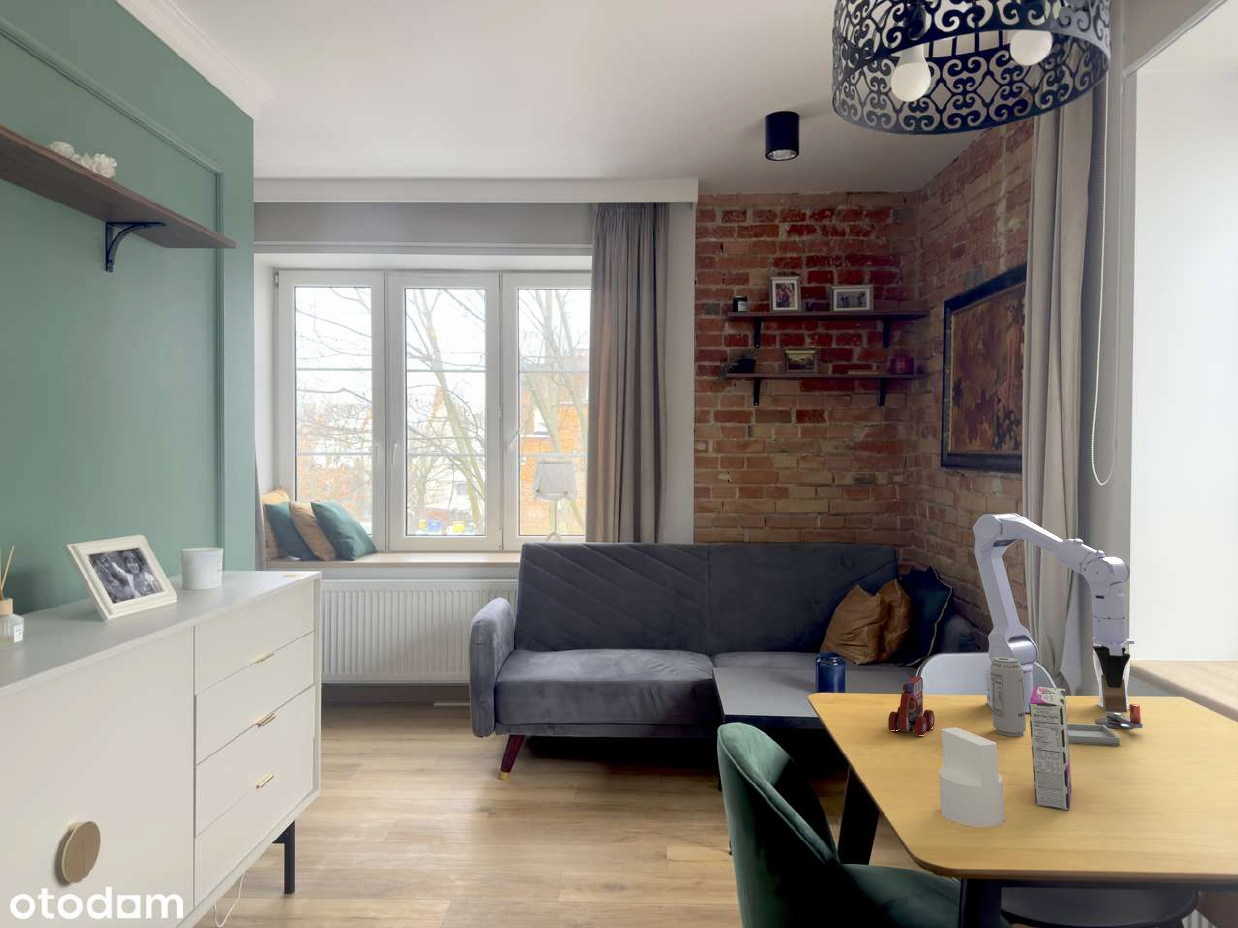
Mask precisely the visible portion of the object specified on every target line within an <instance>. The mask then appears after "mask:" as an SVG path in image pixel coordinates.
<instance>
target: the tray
mask: <svg viewBox="0 0 1238 928" xmlns="http://www.w3.org/2000/svg"><path fill="white" fill-rule="evenodd" d="M1067 729H1068V744H1085V745H1104V746H1120V745H1121V743H1120V738H1119V736H1118V735H1116V733H1114V732H1113V731H1112V730H1111V728H1108V727H1106V726H1105V725H1098V724H1093V723H1092V724H1089V723H1069V722H1067Z"/></svg>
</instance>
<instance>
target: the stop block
mask: <svg viewBox="0 0 1238 928" xmlns="http://www.w3.org/2000/svg"><path fill="white" fill-rule="evenodd" d="M1101 684H1102V696H1103V707H1104V708H1103V709H1104V711H1105V713H1106V712H1122V713H1123V714H1125V713H1126V714H1127V713H1128V710H1127V705H1126V694H1125V682H1124V678H1123V679H1122V684H1121V688H1113V687H1108V685H1107V682H1106V678H1105V675H1101Z"/></svg>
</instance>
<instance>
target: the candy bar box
mask: <svg viewBox="0 0 1238 928" xmlns="http://www.w3.org/2000/svg"><path fill="white" fill-rule="evenodd" d="M1029 710H1030V713H1029V720H1030V721H1029V725H1030V739H1031V752H1032V766H1033V767H1032V768H1033V782H1034V800H1035V801H1034V802H1035V806H1038V807H1043V808H1049V809H1054V810H1055V809H1056V810H1061V811H1062V810H1063V811H1069V810H1070V806H1071V805H1070V804H1071V796H1072V777H1071V765H1070V764H1071V763H1070V762H1071V761H1070V746H1069V744H1070V743H1069V742H1068V729H1067V723H1068V717H1067V715H1068V714H1067V700H1066V689H1065V688H1057V687H1047V686H1045V687H1044V686H1033V692H1032V695H1031V698H1030V701H1029Z"/></svg>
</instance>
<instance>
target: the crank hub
mask: <svg viewBox="0 0 1238 928" xmlns="http://www.w3.org/2000/svg"><path fill="white" fill-rule="evenodd" d="M1094 722H1095V723H1096V725H1105V726H1106V727H1107V728H1108V729H1115V730H1131V729H1135V728H1134V727H1131V726H1129V725H1127V724H1125V723H1122V722H1120V721H1118V720H1113V719H1109V718H1106V717H1100V718H1099V717H1098V718H1096V719H1095V721H1094Z"/></svg>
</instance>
